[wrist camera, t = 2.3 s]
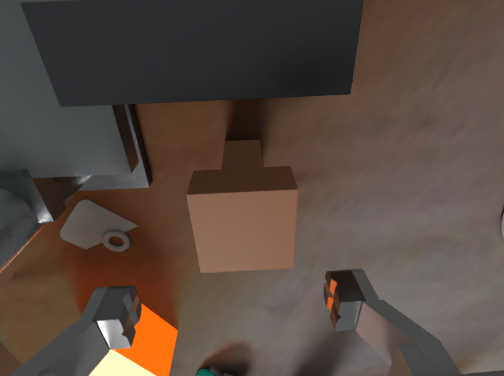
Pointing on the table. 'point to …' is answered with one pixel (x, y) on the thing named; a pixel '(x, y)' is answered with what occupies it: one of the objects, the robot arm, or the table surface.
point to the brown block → (243, 212)
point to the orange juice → (142, 350)
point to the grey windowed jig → (141, 84)
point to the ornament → (209, 373)
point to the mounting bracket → (96, 227)
